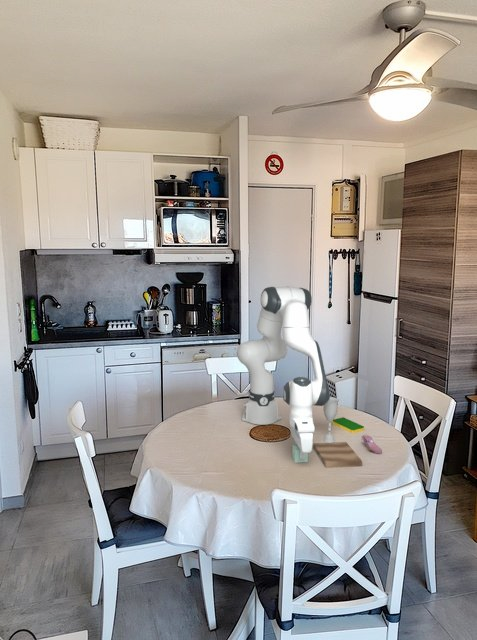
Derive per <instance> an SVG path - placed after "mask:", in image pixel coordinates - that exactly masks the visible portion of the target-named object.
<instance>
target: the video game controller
mask: <svg viewBox="0 0 477 640" xmlns="http://www.w3.org/2000/svg"><path fill="white" fill-rule="evenodd" d="M361 442H362V443H364V445H365V446H366V447H367V449H368V451H370V452H373V453H375V454H378V455H380V454H382V452H383V451H382V448H380V446H378V445H377V444H376V442H375V441H374V440H373V437H372V436H370V435H368V434H367V433H365V434H363V435H362V436H361Z"/></svg>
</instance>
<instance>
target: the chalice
mask: <svg viewBox="0 0 477 640" xmlns="http://www.w3.org/2000/svg"><path fill="white" fill-rule="evenodd" d="M339 401H340V399H338V398H336V397H332V396H330V399H329V401H328V402H327V403H326V404H324V405H323V414H324V417H325V418H326V419H325V420H326V421H328V424H327V427H328V428H327V431H328V432H327V434H325V436H324V438H323V439H322V441H323V442H324V443H332V442H336V439H335V436H334V435H333V434H332V425H333V424H332V421H333V420H334V419H336V415H337V413H338V403H339Z"/></svg>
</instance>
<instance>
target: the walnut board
mask: <svg viewBox="0 0 477 640" xmlns="http://www.w3.org/2000/svg"><path fill="white" fill-rule="evenodd" d="M347 442H348V441H339V442H338V441H335V442H332V443H328V442H316V443H315V442H313V444H312V449H313V450H314V452H315V453H316V455H317V456H318V458H319V459H320V461H321V462H322V464H323V465H324V467H325V468H329V469H330V468H350V467H362V466H363V460H362V459H361V457H359V456H358V454H357V453H356V452H355V451H354V450H353V449H352V447H351V446H350V444H349V443H347Z"/></svg>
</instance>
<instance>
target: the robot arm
mask: <svg viewBox="0 0 477 640" xmlns="http://www.w3.org/2000/svg"><path fill="white" fill-rule="evenodd" d="M312 300H313V299H312V294H311V292H310V291H309V290H308V289H307V288H303V287H295V286H268V287H265V288H264V289H263V290H262V292H261V294H260V304H261V305H260V306H261V309H260V311H259V316H258V320H257V323H256V324H257V325H256V328H257V331H258V333H259V334H260V335H262V336H263V337H262V338H261V339H254V340H253V339H252V340H247V341H244V342H242V343H240V344H239V345H238V346H237V348H236V356H237V357H236V358H237V359H238V361H239V362H240V363H241V364H243V365H244V366H245V367H246V369H247V371H248V375H249V381H250V382H249V384H250V387H249V388H250V389H249V393H248V399H247V402H246V403H245V402H244V403H243V413H242V415H241V416H242V417H241V421H242V422H248V423H250V424H254V425H260V426H261V425H265V426H266V425H272V424H274V423H276V422H277V421H280V420H282V417H281V416H280V415H279V414H278V413H279V411H278V402H277V401H276V400H275V396H276V395H275V390H274V387H275V386H274V385H275V382H274V381H275V378H274V375H273V373H272V372H271V371H270V370H268V369H266V366H265V365H266V364H265V363H270V362H277V361H280V360H283V359H285V358H286V356H287V355H288V348H290V349H291V350H293V351H296V352H299V353H302V354H303V355H306V356H307V357H308V358H309V359H310V361H311V363H312V365H311V366H312V370H313V375H314V380H311V379H309V378H307V377H304V376H298V377H295V378H293V379H292V380H291V381H287V382H286V383H285V384H284V385H283V397H282V400H283V402H285V403H286V404H287V405H288V406H290V409H289V421H288V422H289V426H290V435H291V436H292V438H293V439H294V445H298V447H299V448H300V453H299V456H300V458H301V459H304V458H305V453H308V454H311V452H312V449H313V443H314V442H313V441H314V433H315V431H316V429H315V424H314V412H313V406H316V407H317V406H318V407H324V404H326V403H327V402H328V401H329V399H330V397H331V392H330V391H331V390H330V388H329V383H328V380H327V376H326V370H325V365H324V361H323V356H322V352H321V348H320V345H319V342H318V341H317V340H315V339H314V338H313V336H312V334H311V328H310V327H311V326H310V325H311V324H310V316H309V315H310V314H309V309H310V307H311V306H312ZM281 333H282V334H281Z"/></svg>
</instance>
